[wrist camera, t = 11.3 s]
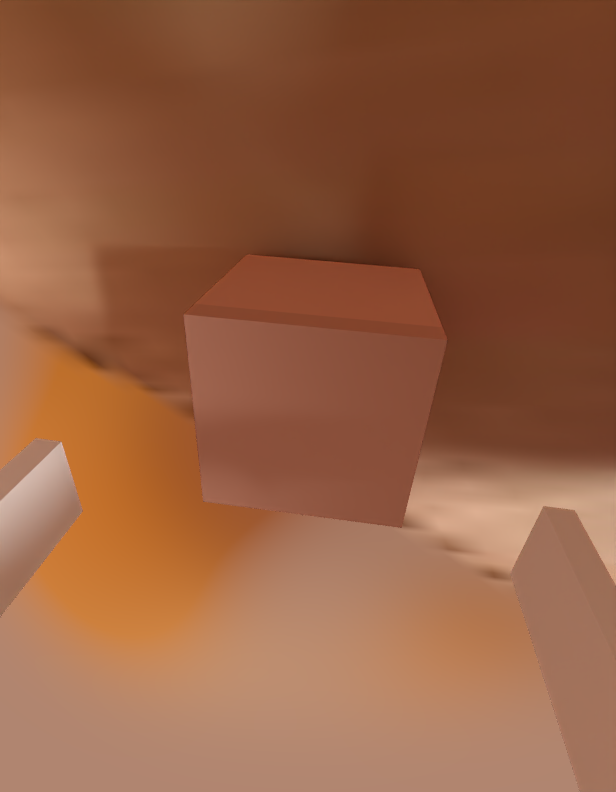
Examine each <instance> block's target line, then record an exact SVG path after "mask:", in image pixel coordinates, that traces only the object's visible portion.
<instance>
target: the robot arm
mask: <svg viewBox="0 0 616 792" xmlns="http://www.w3.org/2000/svg"><path fill="white" fill-rule="evenodd" d="M82 511H83V510H82V507H81V504H80V500H79V497H78V494H77V491H76V487H75V484H74V481H73V478H72V474H71V471H70V468H69V465H68V461H67V458H66V455H65V452H64V449H63V446H62V442H60V441H53V440H45V439H38V438H35V439H34V440H33V441H32V442H31V443H30V444H29V445H28V446H27V447H25V448H24V449H23V450H22V451H21V452H20V453H19V454H18V455H16V456H15V457H14V458H13V459H12V460H11V461H10V462H9V463H7V464H6V465H5V466H4V467H3V468H2V469H1V470H0V617H1V616H2V614H3V613H4V612H5V610H6V609H7V608H8V607H9V605H10V604H11V603H12V601H13V600H14V599H15V598H16V596H17V595H18V594H19V592H20V591H21V590H22V589H23V587H24V586H25V585H26V583H27V582H28V581H29V580H30V578H31V577H32V576H33V574H34V573H35V572H36V571H37V569H38V568H39V567H40V565H41V564H42V563H43V562H44V560H45V559H46V558H47V556H48V555H49V554H50V553H51V551H52V550H53V549H54V547H55V546H56V545H57V543H58V542H59V541H60V540H61V538H62V537H63V536H64V535H65V533H66V532H67V531H68V529H69V528H70V527H71V526H72V524H73V523H74V522H75V520H76V519H77V518H78V517H79V515H80V514H81V513H82ZM510 574H511V577H512V581H513V584H514V587H515V590H516V593H517V596H518V599H519V603H520V605H521V609H522V612H523V615H524V618H525V621H526V624H527V628H528V631H529V634H530V637H531V640H532V643H533V646H534V650H535V653H536V656H537V659H538V662H539V665H540V668H541V671H542V675H543V678H544V681H545V684H546V687H547V690H548V693H549V697H550V700H551V703H552V706H553V709H554V712H555V715H556V719H557V722H558V725H559V728H560V731H561V734H562V737H563V740H564V744H565V746H566V750H567V753H568V756H569V759H570V762H571V765H572V769H573V772H574V775H575V778H576V781H577V784H578V788H579V791H580V792H616V585H615V583H614V582H613V580H612V578H611V576H610V574H609V572H608V571H607V569H606V567H605V565H604V563H603V561H602V560H601V558H600V556H599V554H598V552H597V550H596V549H595V547H594V545H593V543H592V541H591V539H590V538H589V536H588V534H587V532H586V530H585V529H584V527H583V525H582V523H581V521H580V519H579V518H578V516H577V514H576V512H575V510H568V509H561V508H553V507H546V506H543V509H542V511H541V513H540V515H539V517H538V519H537V521H536V523H535V525H534V527H533V529H532V531H531V533H530V535H529V537H528V539H527V541H526V543H525V545H524V547H523V549H522V551H521V553H520V555H519V557H518V559H517V561H516V563H515V565H514V567H513V569H512V571H511V573H510Z"/></svg>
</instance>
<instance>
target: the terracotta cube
mask: <svg viewBox="0 0 616 792" xmlns="http://www.w3.org/2000/svg"><path fill="white" fill-rule="evenodd" d="M183 315H184V325H185V334H186V344H187V353H188V363H189V372H190V381H191V391H192V400H193V410H194V419H195V429H196V438H197V447H198V457H199V466H200V475H201V485H202V495H203V501H204V502H211V503H218V504H226V505H234V506H241V507H249V508H256V509H264V510H271V511H279V512H287V513H294V514H302V515H310V516H318V517H324V518H333V519H340V520H347V521H355V522H363V523H370V524H377V525H385V526H393V527H400V528H402V524H403V520H404V516H405V511H406V507H407V503H408V499H409V495H410V491H411V487H412V483H413V479H414V475H415V471H416V467H417V463H418V459H419V455H420V450H421V446H422V442H423V438H424V434H425V430H426V426H427V422H428V418H429V414H430V410H431V406H432V402H433V398H434V394H435V389H436V385H437V381H438V377H439V373H440V369H441V365H442V361H443V357H444V353H445V349H446V345H447V341H448V340H447V337H446V335H445V332H444V330H443V327H442V325H441V322H440V319H439V317H438V314H437V312H436V309H435V307H434V304H433V302H432V299H431V296H430V294H429V291H428V289H427V286H426V284H425V281H424V279H423V276H422V273H421V271H420V269H413V268H401V267H389V266H378V265H366V264H354V263H343V262H331V261H319V260H307V259H296V258H284V257H272V256H261V255H249V254H247V255H246V256H245V257H244V258H243V259H242V260H240V261H239V262H238V263H237V264H236V265H235V266H234V267H233V268H232V269H231V270H230V271H229V272H228V273H227V274H226V275H225V276H224V277H222V278H221V279H220V280H219V281H218V282H217V283H216V284H215V285H214V286H213V287H212V288H211V289H210V290H209V291H208V292H207V293H206V294H204V295H203V296H202V297H201V298H200V299H199V300H198V301H197V302H196V303H195V304H194V305H193V306H192V307H191V308H190V309H189V310H188V311H186V312H185V313H184V314H183Z"/></svg>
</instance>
